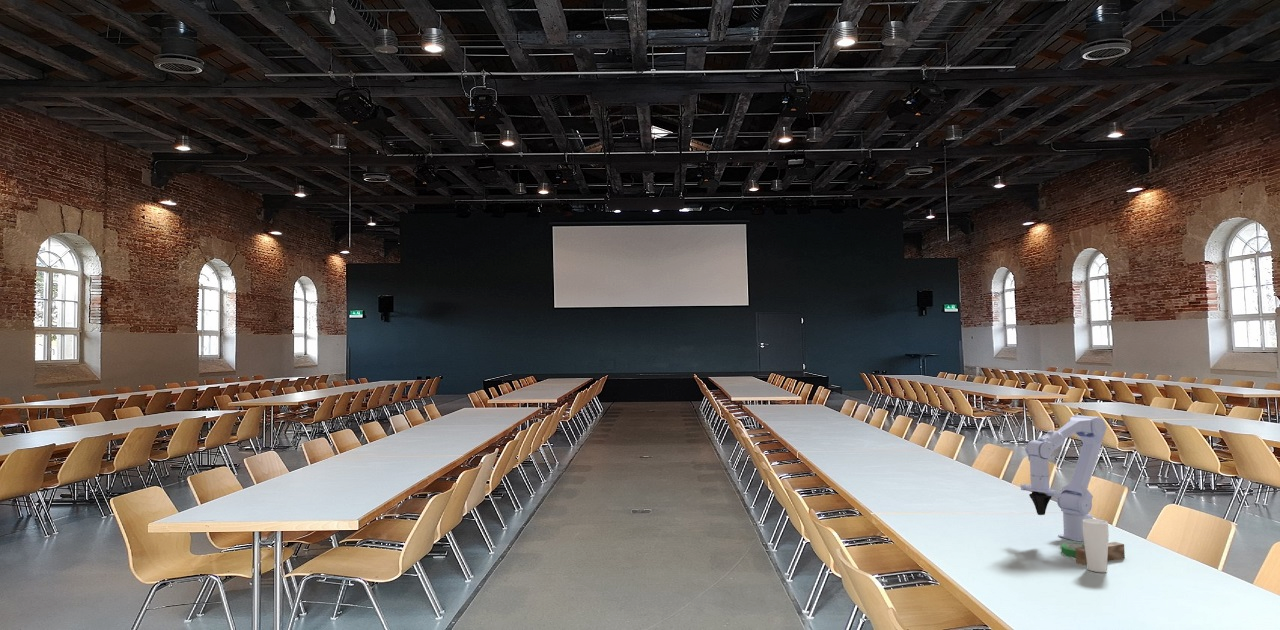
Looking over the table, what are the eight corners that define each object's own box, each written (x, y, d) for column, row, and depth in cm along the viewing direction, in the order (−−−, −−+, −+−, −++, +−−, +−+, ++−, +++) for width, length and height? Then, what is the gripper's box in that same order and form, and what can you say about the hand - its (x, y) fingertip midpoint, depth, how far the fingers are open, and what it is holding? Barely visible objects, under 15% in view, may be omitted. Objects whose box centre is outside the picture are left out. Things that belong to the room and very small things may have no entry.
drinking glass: (1106, 567, 224) (1104, 519, 225) (1113, 574, 218) (1110, 524, 218) (1081, 566, 227) (1079, 517, 227) (1087, 572, 220) (1085, 523, 221)
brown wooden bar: (1115, 555, 236) (1115, 541, 237) (1124, 558, 234) (1124, 544, 234) (1075, 562, 230) (1075, 548, 230) (1084, 565, 227) (1083, 550, 227)
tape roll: (1054, 550, 244) (1054, 542, 244) (1087, 550, 244) (1087, 542, 244) (1073, 560, 233) (1073, 552, 233) (1108, 560, 233) (1107, 551, 233)
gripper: (1013, 472, 258) (1015, 511, 258) (1049, 479, 245) (1050, 520, 244) (1028, 471, 261) (1030, 509, 260) (1064, 478, 247) (1066, 518, 247)
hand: (1041, 514), depth 252 cm, fingers closed
